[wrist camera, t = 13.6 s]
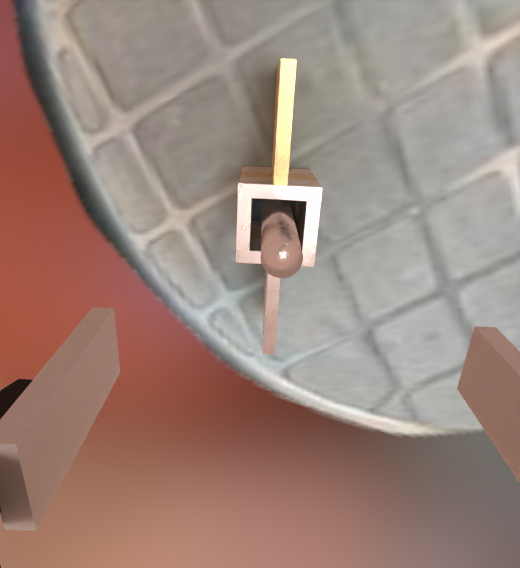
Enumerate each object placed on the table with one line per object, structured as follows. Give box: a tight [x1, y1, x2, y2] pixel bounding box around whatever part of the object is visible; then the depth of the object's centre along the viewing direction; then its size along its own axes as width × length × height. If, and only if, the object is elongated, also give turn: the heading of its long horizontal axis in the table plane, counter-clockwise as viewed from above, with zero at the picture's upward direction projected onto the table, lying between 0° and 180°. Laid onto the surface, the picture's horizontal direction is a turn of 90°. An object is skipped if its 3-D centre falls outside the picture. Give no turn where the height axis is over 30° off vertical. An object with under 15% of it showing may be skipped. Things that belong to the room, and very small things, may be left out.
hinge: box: [236, 58, 322, 354], centre depth 36 cm, size 22×6×9 cm, turn 177°
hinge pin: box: [261, 199, 303, 278], centre depth 33 cm, size 2×2×16 cm
